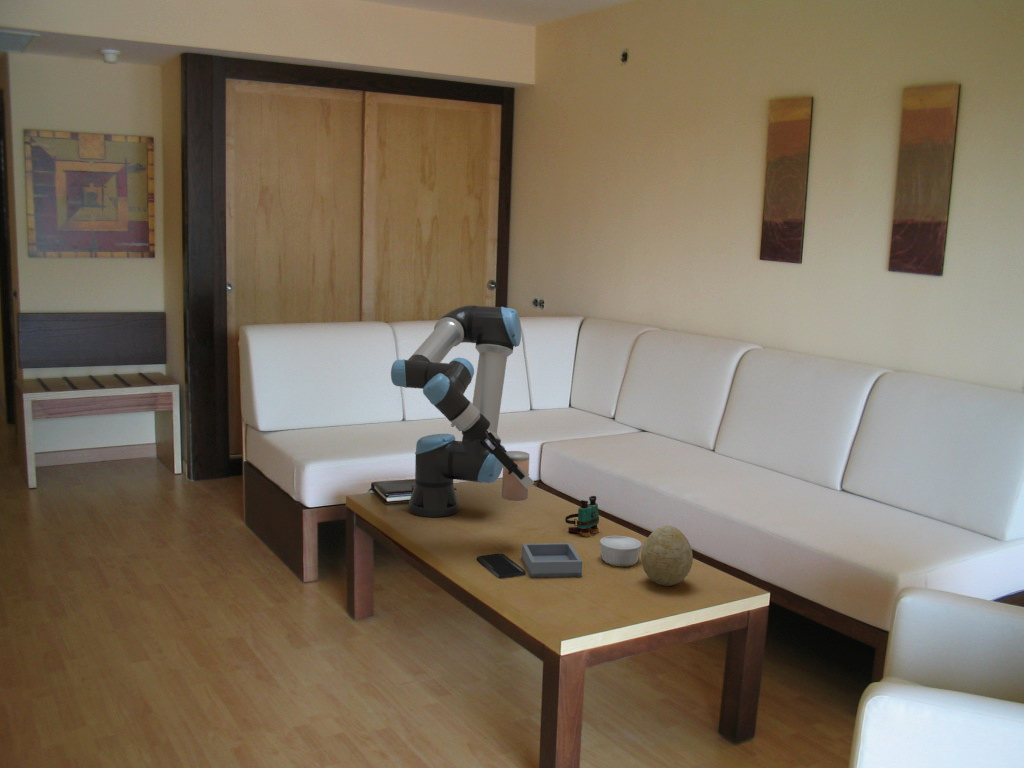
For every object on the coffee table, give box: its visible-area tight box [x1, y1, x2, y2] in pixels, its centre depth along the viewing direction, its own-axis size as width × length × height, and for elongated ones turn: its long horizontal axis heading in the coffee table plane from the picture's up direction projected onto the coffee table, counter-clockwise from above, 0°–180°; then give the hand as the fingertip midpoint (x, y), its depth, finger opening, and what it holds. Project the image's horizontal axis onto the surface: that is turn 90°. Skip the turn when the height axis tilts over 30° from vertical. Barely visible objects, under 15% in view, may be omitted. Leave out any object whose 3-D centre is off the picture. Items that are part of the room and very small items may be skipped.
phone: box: [476, 553, 526, 580], centre depth 245 cm, size 8×1×15 cm
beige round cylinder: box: [501, 450, 530, 502], centre depth 257 cm, size 7×7×12 cm
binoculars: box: [564, 495, 600, 538], centre depth 275 cm, size 9×11×10 cm
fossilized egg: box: [640, 525, 694, 587], centre depth 237 cm, size 13×13×15 cm
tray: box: [521, 542, 583, 579], centre depth 246 cm, size 14×13×4 cm
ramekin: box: [599, 535, 643, 567], centre depth 253 cm, size 11×11×5 cm
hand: (528, 481), depth 258 cm, fingers closed on beige round cylinder, 7 cm apart
